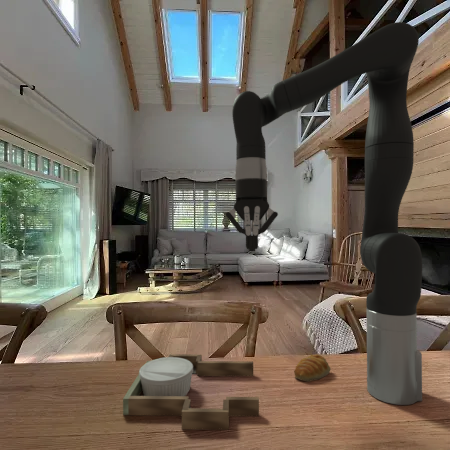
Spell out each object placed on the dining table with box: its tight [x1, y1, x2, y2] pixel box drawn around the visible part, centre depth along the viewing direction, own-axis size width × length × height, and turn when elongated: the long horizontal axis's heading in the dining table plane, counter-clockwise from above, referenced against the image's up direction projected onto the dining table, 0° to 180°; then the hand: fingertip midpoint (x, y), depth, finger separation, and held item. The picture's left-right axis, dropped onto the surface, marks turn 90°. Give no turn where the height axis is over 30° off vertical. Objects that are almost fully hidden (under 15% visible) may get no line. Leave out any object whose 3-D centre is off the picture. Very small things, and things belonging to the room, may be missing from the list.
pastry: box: [293, 353, 332, 382], centre depth 76 cm, size 9×7×4 cm
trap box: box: [122, 353, 260, 431], centre depth 68 cm, size 25×25×3 cm
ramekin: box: [138, 356, 193, 396], centre depth 68 cm, size 11×11×5 cm
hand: (251, 251), depth 78 cm, fingers closed
